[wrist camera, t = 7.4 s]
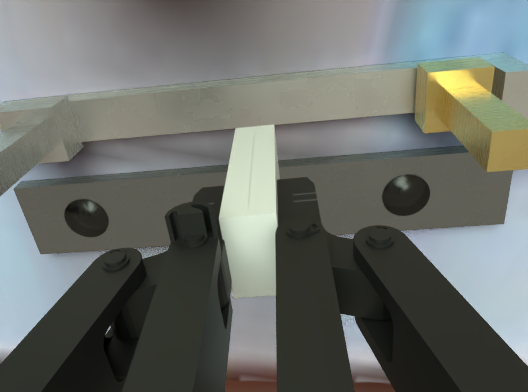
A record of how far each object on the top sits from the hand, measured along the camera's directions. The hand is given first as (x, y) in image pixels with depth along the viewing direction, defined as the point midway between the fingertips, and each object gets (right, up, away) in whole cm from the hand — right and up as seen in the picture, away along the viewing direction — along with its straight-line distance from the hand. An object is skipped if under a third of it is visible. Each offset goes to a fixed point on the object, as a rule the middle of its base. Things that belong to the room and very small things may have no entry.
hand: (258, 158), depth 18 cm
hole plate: (0, -2, +11) cm, 11 cm away
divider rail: (-1, +4, +8) cm, 9 cm away
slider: (+10, +4, +6) cm, 12 cm away
